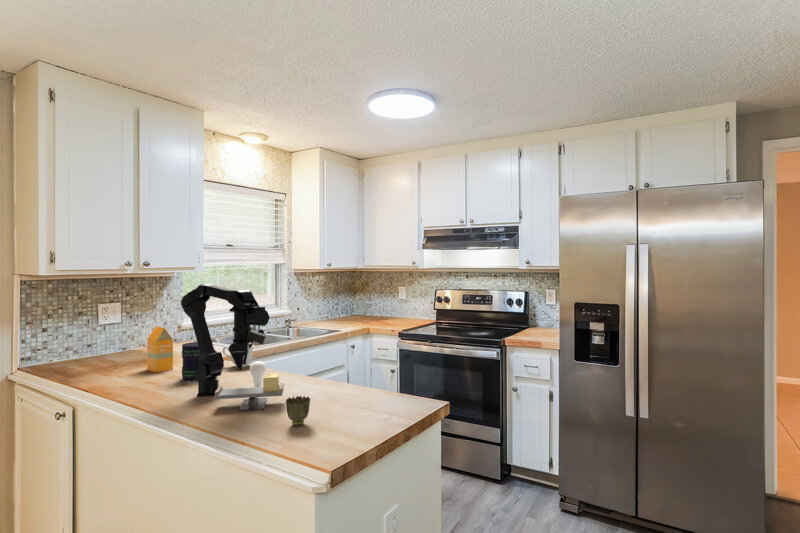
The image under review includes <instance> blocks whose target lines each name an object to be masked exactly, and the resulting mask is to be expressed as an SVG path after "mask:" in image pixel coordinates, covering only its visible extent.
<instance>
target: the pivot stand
mask: <svg viewBox="0 0 800 533" xmlns="http://www.w3.org/2000/svg"><path fill="white" fill-rule="evenodd" d="M267 401H268V398H267V397H250V398H243V400H242V403H241V405H240V407H239V408H238V412H240V413H241V412H255V411H257V410H259V411H264V410H265V407H266V404H267Z"/></svg>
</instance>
